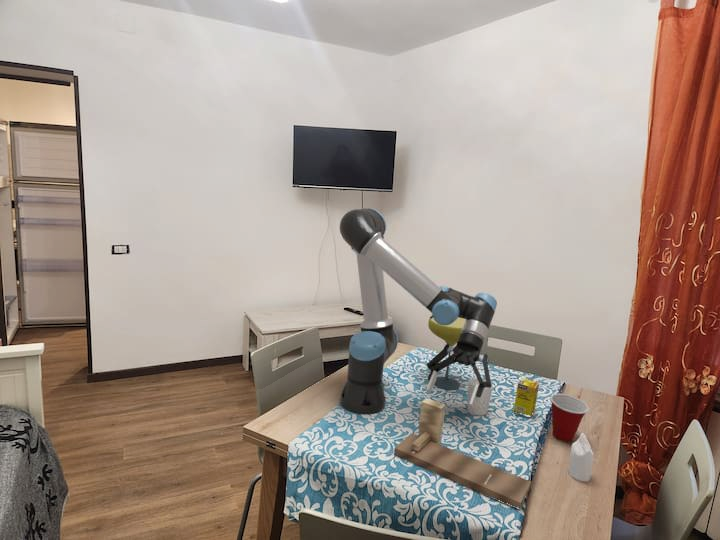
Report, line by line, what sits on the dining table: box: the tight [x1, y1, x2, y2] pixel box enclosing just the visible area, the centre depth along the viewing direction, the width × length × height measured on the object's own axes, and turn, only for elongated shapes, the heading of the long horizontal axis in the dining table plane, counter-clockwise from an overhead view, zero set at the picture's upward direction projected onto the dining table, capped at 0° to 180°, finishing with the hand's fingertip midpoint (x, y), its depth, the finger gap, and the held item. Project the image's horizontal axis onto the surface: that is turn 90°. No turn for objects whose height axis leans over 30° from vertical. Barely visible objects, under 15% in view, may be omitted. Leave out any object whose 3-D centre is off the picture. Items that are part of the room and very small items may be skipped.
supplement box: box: [513, 377, 540, 416], centre depth 154 cm, size 6×6×11 cm
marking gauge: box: [412, 397, 446, 451], centre depth 127 cm, size 6×11×12 cm, turn 146°
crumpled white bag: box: [567, 432, 595, 483], centre depth 121 cm, size 6×12×6 cm
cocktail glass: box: [428, 315, 467, 391], centre depth 171 cm, size 18×18×25 cm
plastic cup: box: [550, 393, 589, 443], centre depth 140 cm, size 11×11×12 cm
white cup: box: [466, 377, 494, 416], centre depth 153 cm, size 8×8×10 cm
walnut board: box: [393, 432, 532, 510], centre depth 120 cm, size 34×10×2 cm, turn 56°
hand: (449, 398), depth 135 cm, fingers open, 13 cm apart
